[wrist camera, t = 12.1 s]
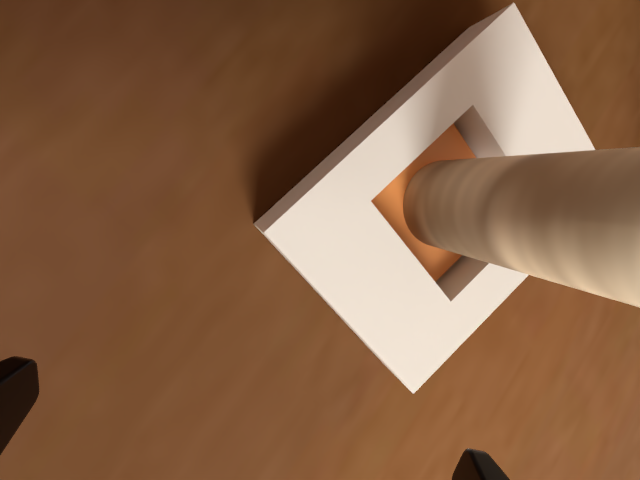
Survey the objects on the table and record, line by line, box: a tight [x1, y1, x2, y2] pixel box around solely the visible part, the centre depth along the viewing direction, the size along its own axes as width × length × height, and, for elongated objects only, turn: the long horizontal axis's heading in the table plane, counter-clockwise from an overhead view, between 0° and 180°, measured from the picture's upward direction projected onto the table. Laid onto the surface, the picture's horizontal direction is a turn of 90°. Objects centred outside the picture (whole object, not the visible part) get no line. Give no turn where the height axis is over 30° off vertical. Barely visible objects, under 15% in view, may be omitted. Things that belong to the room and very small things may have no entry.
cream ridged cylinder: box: [403, 147, 640, 307], centre depth 13 cm, size 4×4×12 cm
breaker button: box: [371, 123, 476, 282], centre depth 20 cm, size 5×5×2 cm
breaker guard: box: [254, 3, 595, 394], centre depth 19 cm, size 14×10×3 cm
